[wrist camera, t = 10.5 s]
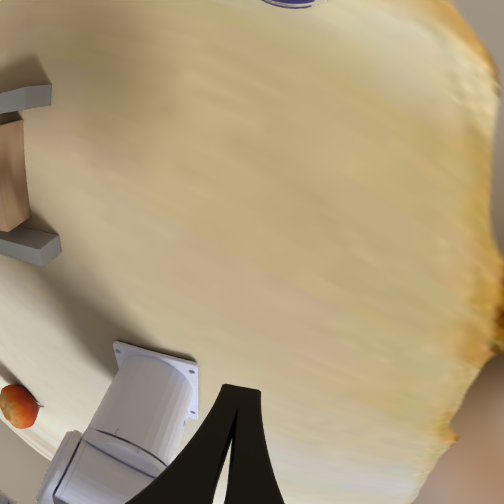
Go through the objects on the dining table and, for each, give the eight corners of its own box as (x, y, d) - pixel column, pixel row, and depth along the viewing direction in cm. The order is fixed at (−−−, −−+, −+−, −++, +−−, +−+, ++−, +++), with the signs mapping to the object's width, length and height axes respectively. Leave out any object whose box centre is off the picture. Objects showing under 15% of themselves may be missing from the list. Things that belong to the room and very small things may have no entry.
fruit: (37, 419, 40) (6, 431, 32) (22, 380, 41) (-11, 389, 33) (55, 421, 37) (19, 435, 30) (38, 378, 38) (1, 388, 31)
